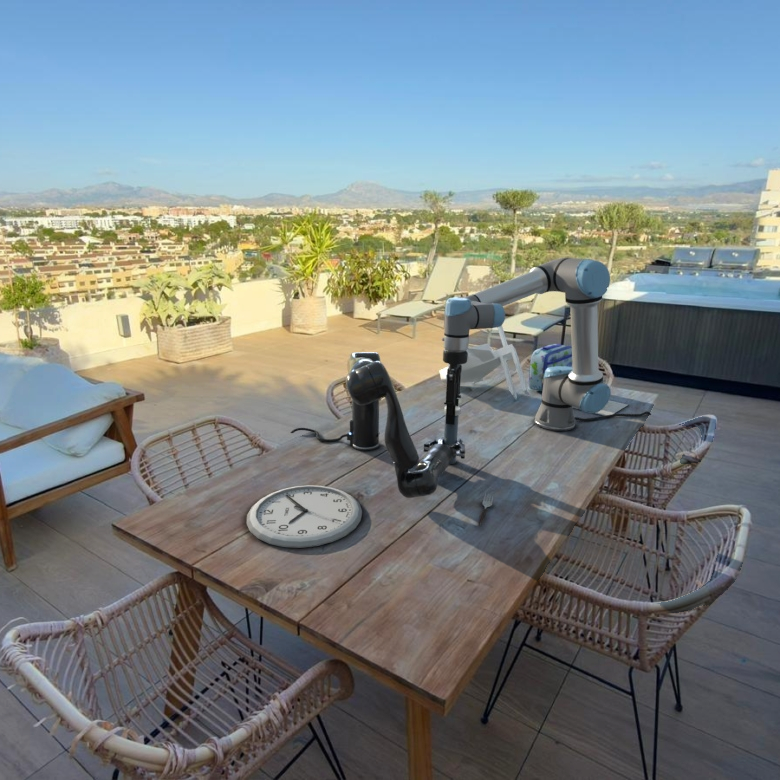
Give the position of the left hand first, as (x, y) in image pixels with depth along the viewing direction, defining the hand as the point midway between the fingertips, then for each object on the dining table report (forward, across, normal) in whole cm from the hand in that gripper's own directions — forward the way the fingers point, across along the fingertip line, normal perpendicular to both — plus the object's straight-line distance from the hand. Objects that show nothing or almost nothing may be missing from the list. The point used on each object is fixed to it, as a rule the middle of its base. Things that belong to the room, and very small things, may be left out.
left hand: (452, 440), depth 171 cm
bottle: (-3, 0, +6) cm, 7 cm away
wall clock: (-51, +25, +6) cm, 57 cm away
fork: (-30, -18, +6) cm, 36 cm away
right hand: (-3, 0, -8) cm, 8 cm away
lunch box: (+97, -20, +6) cm, 99 cm away
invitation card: (+79, -44, +6) cm, 90 cm away
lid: (-3, 0, -12) cm, 12 cm away
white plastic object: (+76, +9, +6) cm, 76 cm away
